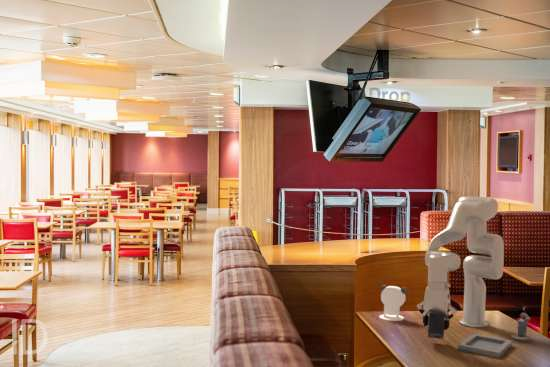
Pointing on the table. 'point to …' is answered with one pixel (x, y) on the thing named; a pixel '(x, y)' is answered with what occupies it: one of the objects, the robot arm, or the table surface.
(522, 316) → the figurine
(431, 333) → the small box
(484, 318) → the robot arm
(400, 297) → the panda figurine
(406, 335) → the table surface
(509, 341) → the tray
